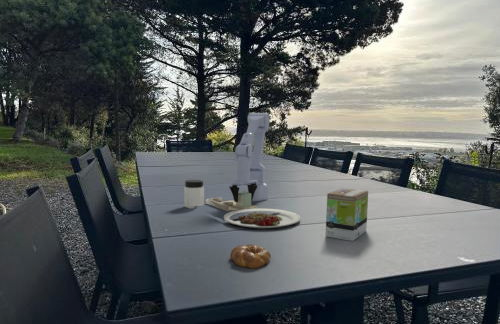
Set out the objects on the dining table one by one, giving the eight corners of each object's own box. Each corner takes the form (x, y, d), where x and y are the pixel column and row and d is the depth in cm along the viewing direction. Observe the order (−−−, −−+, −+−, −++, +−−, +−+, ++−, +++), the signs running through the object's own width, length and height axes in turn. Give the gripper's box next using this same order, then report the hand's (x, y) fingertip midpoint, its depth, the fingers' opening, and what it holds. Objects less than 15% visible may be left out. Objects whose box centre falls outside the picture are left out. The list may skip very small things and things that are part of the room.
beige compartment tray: (235, 201, 183) (235, 195, 182) (258, 209, 166) (258, 202, 166) (206, 205, 174) (206, 199, 174) (226, 213, 157) (226, 206, 157)
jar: (207, 207, 170) (207, 181, 169) (191, 209, 165) (191, 182, 164) (196, 204, 177) (196, 179, 176) (181, 206, 172) (181, 180, 171)
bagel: (273, 269, 95) (274, 255, 94) (231, 270, 94) (231, 256, 93) (267, 254, 107) (268, 241, 106) (229, 254, 106) (229, 242, 105)
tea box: (354, 242, 118) (356, 195, 116) (324, 237, 123) (325, 192, 122) (367, 231, 130) (368, 189, 129) (339, 227, 136) (340, 187, 134)
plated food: (260, 209, 167) (260, 202, 166) (316, 221, 145) (316, 213, 145) (207, 220, 146) (207, 212, 145) (263, 236, 124) (263, 226, 124)
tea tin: (243, 203, 173) (243, 191, 172) (251, 206, 167) (251, 193, 166) (235, 204, 171) (235, 191, 170) (243, 207, 165) (243, 194, 164)
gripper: (233, 173, 160) (233, 204, 161) (261, 171, 168) (261, 201, 169) (226, 171, 166) (226, 201, 167) (253, 169, 174) (253, 198, 175)
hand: (243, 201), depth 168 cm, fingers open, 7 cm apart
